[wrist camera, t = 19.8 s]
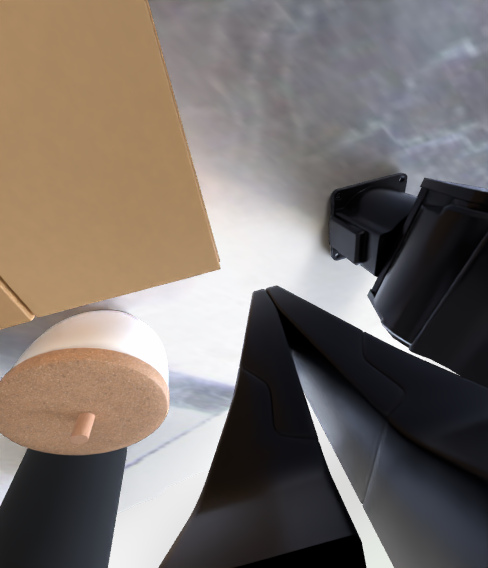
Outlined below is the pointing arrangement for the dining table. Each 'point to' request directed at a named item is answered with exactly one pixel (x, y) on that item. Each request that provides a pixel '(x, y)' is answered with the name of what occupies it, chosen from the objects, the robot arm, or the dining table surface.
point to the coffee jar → (61, 510)
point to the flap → (91, 158)
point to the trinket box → (87, 386)
